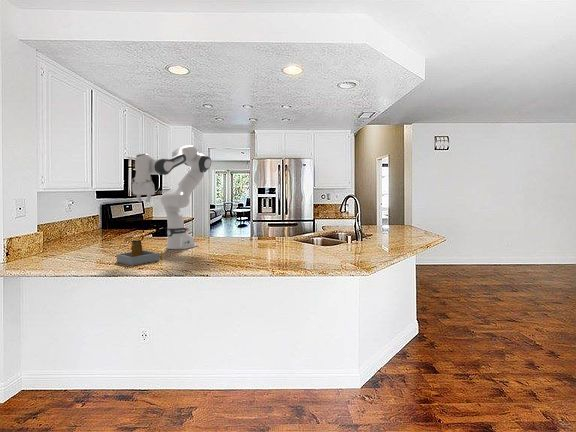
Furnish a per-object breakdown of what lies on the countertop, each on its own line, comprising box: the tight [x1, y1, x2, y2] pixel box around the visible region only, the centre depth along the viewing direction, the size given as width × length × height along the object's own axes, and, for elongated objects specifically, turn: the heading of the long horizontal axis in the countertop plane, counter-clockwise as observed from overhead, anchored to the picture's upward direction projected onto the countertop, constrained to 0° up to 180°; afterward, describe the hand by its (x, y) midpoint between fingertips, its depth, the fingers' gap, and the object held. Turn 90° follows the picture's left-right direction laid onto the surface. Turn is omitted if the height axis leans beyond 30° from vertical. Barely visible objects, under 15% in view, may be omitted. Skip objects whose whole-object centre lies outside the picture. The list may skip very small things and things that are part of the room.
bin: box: [116, 249, 160, 267], centre depth 254 cm, size 18×17×5 cm
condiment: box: [130, 239, 143, 257], centre depth 253 cm, size 7×8×12 cm
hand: (144, 201), depth 270 cm, fingers open, 8 cm apart
